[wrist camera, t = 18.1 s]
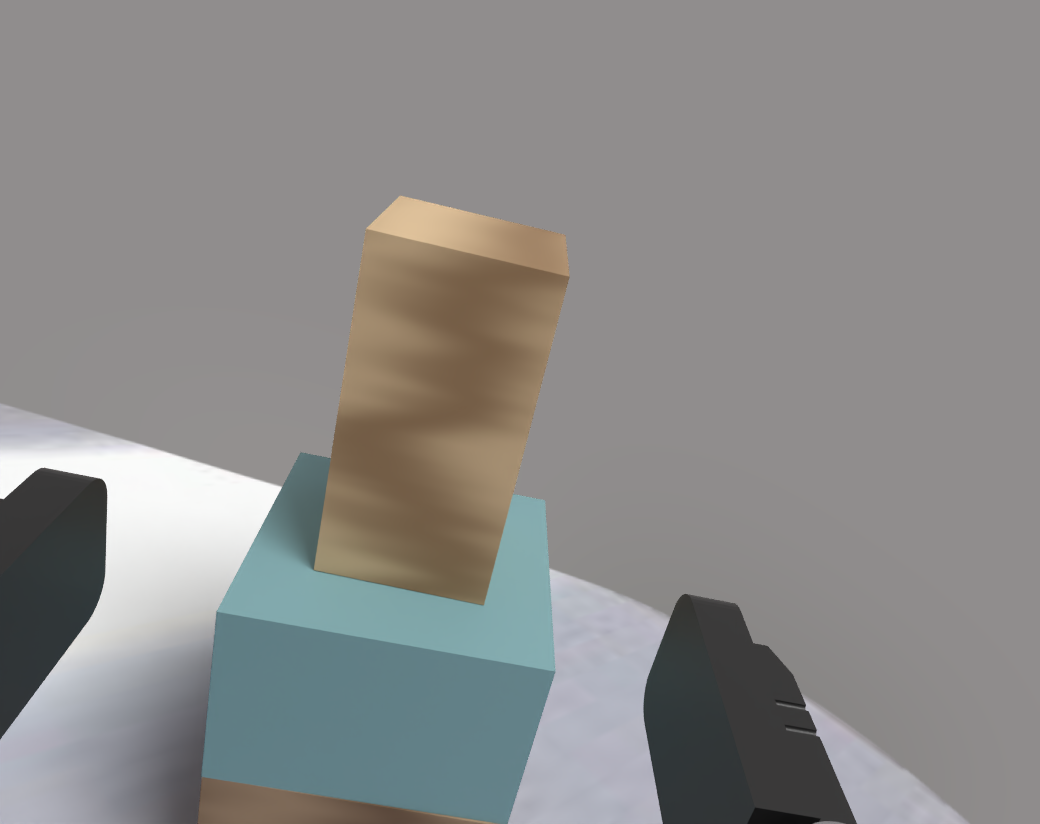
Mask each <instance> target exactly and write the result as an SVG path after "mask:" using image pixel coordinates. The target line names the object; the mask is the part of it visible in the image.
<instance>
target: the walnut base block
mask: <svg viewBox="0 0 1040 824" xmlns="http://www.w3.org/2000/svg"><path fill="white" fill-rule="evenodd" d="M198 824H498V823H491V822H485V821H479V820H472V819H466V818H460V817H453V816H447V815H441V814H434V813H428V812H422V811H415V810H409V809H402V808H396V807H390V806H383V805H377V804H371V803H364V802H358V801H352V800H345V799H339V798H333V797H326V796H320V795H313V794H307V793H301V792H294V791H288V790H282V789H275V788H269V787H263V786H256V785H250V784H244V783H237V782H231V781H224V780H218V779H212V778H205V777H202V781H201V792H200V803H199V813H198Z"/></svg>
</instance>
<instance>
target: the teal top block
mask: <svg viewBox="0 0 1040 824" xmlns="http://www.w3.org/2000/svg"><path fill="white" fill-rule="evenodd" d="M330 460H331V458H327V457H322V456H317V455H311V454H306V453H300V455H299V456H298V458H297V460H296V462H295V464H294V466H293V468H292V470H291V472H290V474H289V476H288V477H287V480H286V481H285V483H284V485H283V487H282V489H281V491H280V493H279V494H278V496H277V498H276V500H275V502H274V504H273V506H272V508H271V510H270V511H269V513H268V515H267V517H266V519H265V521H264V523H263V525H262V527H261V529H260V530H259V532H258V534H257V536H256V538H255V540H254V542H253V544H252V546H251V548H250V549H249V551H248V553H247V555H246V557H245V559H244V561H243V563H242V565H241V567H240V568H239V570H238V572H237V574H236V576H235V578H234V580H233V582H232V584H231V585H230V587H229V589H228V591H227V593H226V595H225V597H224V599H223V601H222V603H221V604H220V606H219V608H218V610H217V614H216V624H215V635H214V646H213V656H212V667H211V678H210V688H209V699H208V710H207V721H206V731H205V742H204V753H203V763H202V774H201V777H205V778H212V779H218V780H224V781H231V782H237V783H244V784H250V785H256V786H263V787H269V788H275V789H282V790H288V791H294V792H301V793H307V794H313V795H320V796H326V797H333V798H339V799H345V800H352V801H358V802H364V803H371V804H377V805H383V806H390V807H396V808H402V809H409V810H415V811H422V812H428V813H434V814H441V815H447V816H453V817H460V818H466V819H472V820H479V821H485V822H491V823H498V824H508V820H509V817H510V814H511V811H512V808H513V804H514V801H515V798H516V795H517V792H518V789H519V785H520V782H521V779H522V776H523V773H524V770H525V766H526V763H527V760H528V757H529V754H530V750H531V747H532V744H533V741H534V738H535V735H536V731H537V728H538V725H539V722H540V719H541V716H542V712H543V709H544V706H545V703H546V700H547V697H548V693H549V690H550V687H551V684H552V681H553V677H554V674H555V657H554V641H553V624H552V608H551V592H550V575H549V559H548V543H547V526H546V510H545V501H544V500H540V499H535V498H530V497H525V496H520V495H515V494H513V496H512V500H511V503H510V507H509V511H508V515H507V519H506V523H505V526H504V530H503V534H502V538H501V542H500V546H499V549H498V553H497V557H496V561H495V565H494V569H493V573H492V576H491V580H490V584H489V588H488V592H487V596H486V599H485V603H484V605H480V604H475V603H470V602H465V601H460V600H456V599H451V598H446V597H441V596H436V595H431V594H427V593H422V592H417V591H412V590H407V589H403V588H398V587H393V586H388V585H383V584H378V583H374V582H369V581H364V580H359V579H354V578H350V577H345V576H340V575H335V574H330V573H325V572H321V571H316V570H314V565H315V558H316V552H317V545H318V539H319V532H320V526H321V519H322V513H323V506H324V500H325V493H326V487H327V480H328V473H329V467H330Z"/></svg>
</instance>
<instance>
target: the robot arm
mask: <svg viewBox="0 0 1040 824" xmlns="http://www.w3.org/2000/svg"><path fill="white" fill-rule="evenodd" d="M106 523H107V488H106V484H105V482H104V481H103V480H102V479H99V478H94V477H89V476H83V475H78V474H73V473H68V472H63V471H58V470H53V469H47V468H40V469H38V470H37V471H35V472H34V473H33V474H32V475H30V476H29V477H28V478H27V479H26V480H25V481H24V482H23V483H21V484H20V485H19V486H18V487H17V488H16V489H15V490H14V491H12V492H11V493H10V494H9V495H8V496H7V497H6V498H5V499H0V739H1V738H2V736H3V735H4V734H5V732H6V731H7V730H8V728H9V727H10V726H11V724H12V723H13V722H14V720H15V719H16V717H17V716H18V715H19V713H20V712H21V711H22V709H23V708H24V707H25V705H26V704H27V703H28V701H29V700H30V699H31V697H32V696H33V695H34V693H35V692H36V691H37V689H38V688H39V687H40V685H41V684H42V682H43V681H44V680H45V678H46V677H47V676H48V674H49V673H50V672H51V670H52V669H53V668H54V666H55V665H56V664H57V662H58V661H59V660H60V658H61V657H62V656H63V654H64V653H65V652H66V650H67V649H68V648H69V646H70V645H71V643H72V642H73V641H74V639H75V638H76V637H77V635H78V634H79V633H80V631H81V630H82V629H83V627H84V626H85V625H86V623H87V622H88V620H89V619H90V617H91V616H92V614H93V612H94V610H95V608H96V606H97V603H98V601H99V598H100V595H101V592H102V588H103V584H104V578H105V560H106ZM805 706H806V704H805V702H804V699H803V697H802V695H801V692H800V690H799V688H798V686H797V683H796V681H795V679H794V676H793V674H792V673H791V672H790V671H789V670H788V669H787V668H786V666H785V665H784V664H783V663H782V662H781V661H780V660H779V658H778V657H777V656H776V655H775V654H774V653H773V652H772V650H771V649H770V648H769V647H768V646H765V645H759V644H754V643H753V642H752V639H751V637H750V634H749V631H748V629H747V626H746V624H745V621H744V618H743V616H742V613H741V611H740V609H739V607H738V606H737V605H736V604H735V603H729V602H724V601H719V600H714V599H709V598H703V597H698V596H693V595H688V594H684V595H682V596H681V597H680V598H679V600H678V601H677V603H676V605H675V608H674V610H673V613H672V615H671V618H670V621H669V623H668V626H667V629H666V631H665V634H664V636H663V639H662V642H661V644H660V647H659V649H658V652H657V655H656V657H655V660H654V662H653V665H652V668H651V670H650V673H649V676H648V679H647V683H646V688H645V695H644V722H645V728H646V733H647V739H648V744H649V750H650V755H651V761H652V766H653V772H654V777H655V783H656V788H657V794H658V799H659V805H660V810H661V816H662V821H663V824H857V823H856V821H855V818H854V816H853V814H852V811H851V809H850V807H849V804H848V802H847V800H846V797H845V795H844V793H843V790H842V788H841V786H840V783H839V781H838V779H837V776H836V774H835V772H834V769H833V767H832V765H831V762H830V760H829V758H828V755H827V753H826V751H825V748H824V746H823V744H822V741H821V739H820V737H818V736H816V731H817V730H816V727H815V725H814V723H813V720H812V718H811V716H810V713H809V711H806V710H805Z"/></svg>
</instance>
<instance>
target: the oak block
mask: <svg viewBox="0 0 1040 824" xmlns="http://www.w3.org/2000/svg"><path fill="white" fill-rule="evenodd" d="M568 280H569V267H568V257H567V247H566V238H565V235H563V234H559V233H555V232H551V231H547V230H542V229H538V228H534V227H529V226H525V225H522V224H517V223H512V222H509V221H505V220H501V219H496V218H492V217H488V216H484V215H480V214H475V213H471V212H467V211H463V210H459V209H454V208H450V207H446V206H442V205H437V204H433V203H429V202H425V201H420V200H416V199H412V198H408V197H404V196H399V197H398V198H397V199H396V200H395V201H394V202H393V204H391V205H390V206H389V207H388V208H387V209H386V210H385V211H384V212H383V213H382V214H381V215H380V216H379V217H378V218H377V219H376V220H375V221H374V222H373V223H371V224H370V225H369V226H368V228H366V233H365V239H364V245H363V252H362V258H361V265H360V271H359V278H358V284H357V291H356V298H355V304H354V311H353V317H352V324H351V330H350V336H349V343H348V350H347V357H346V363H345V369H344V376H343V382H342V389H341V395H340V403H339V408H338V415H337V421H336V428H335V434H334V441H333V447H332V454H331V460H330V467H329V473H328V480H327V487H326V493H325V500H324V506H323V513H322V519H321V526H320V532H319V539H318V545H317V552H316V558H315V565H314V570H316V571H321V572H325V573H330V574H335V575H340V576H345V577H350V578H354V579H359V580H364V581H369V582H374V583H378V584H383V585H388V586H393V587H398V588H403V589H407V590H412V591H417V592H422V593H427V594H431V595H436V596H441V597H446V598H451V599H456V600H460V601H465V602H470V603H475V604H480V605H484V603H485V599H486V596H487V592H488V588H489V584H490V580H491V576H492V573H493V569H494V565H495V561H496V557H497V553H498V549H499V546H500V542H501V538H502V534H503V530H504V526H505V523H506V519H507V515H508V511H509V507H510V503H511V500H512V496H513V492H514V488H515V484H516V480H517V476H518V472H519V469H520V465H521V461H522V457H523V453H524V449H525V445H526V442H527V438H528V434H529V430H530V426H531V422H532V419H533V415H534V411H535V407H536V403H537V399H538V395H539V392H540V388H541V384H542V380H543V376H544V373H545V369H546V365H547V361H548V357H549V353H550V350H551V346H552V342H553V338H554V334H555V330H556V327H557V323H558V319H559V315H560V311H561V307H562V303H563V299H564V296H565V292H566V288H567V284H568Z"/></svg>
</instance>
